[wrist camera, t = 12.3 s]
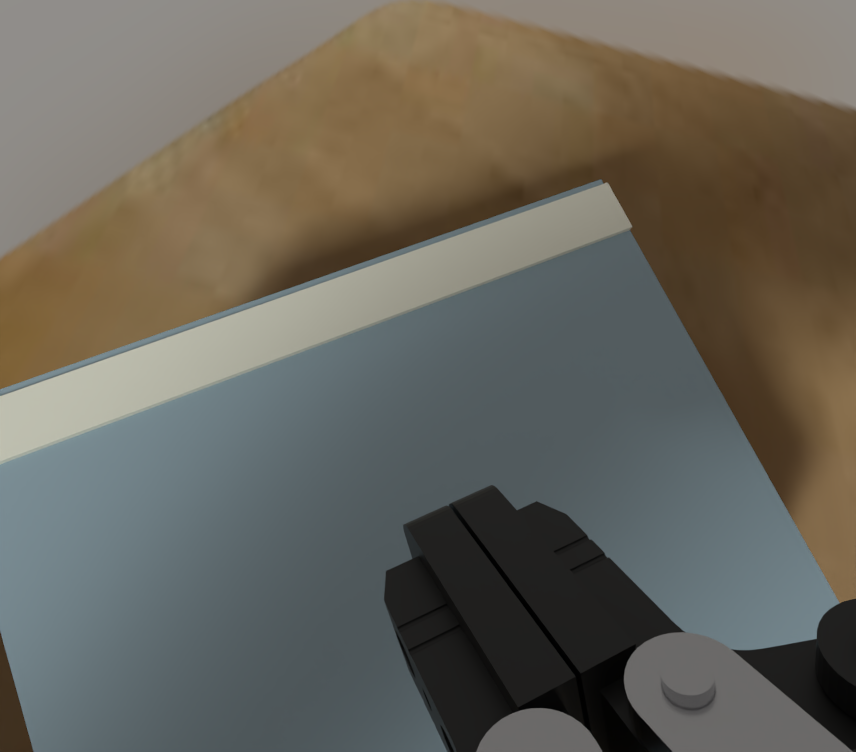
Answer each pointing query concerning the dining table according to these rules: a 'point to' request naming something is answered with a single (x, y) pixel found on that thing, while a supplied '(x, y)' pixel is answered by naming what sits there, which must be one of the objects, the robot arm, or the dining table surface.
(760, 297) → the dining table surface
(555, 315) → the lid
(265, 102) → the dining table surface
